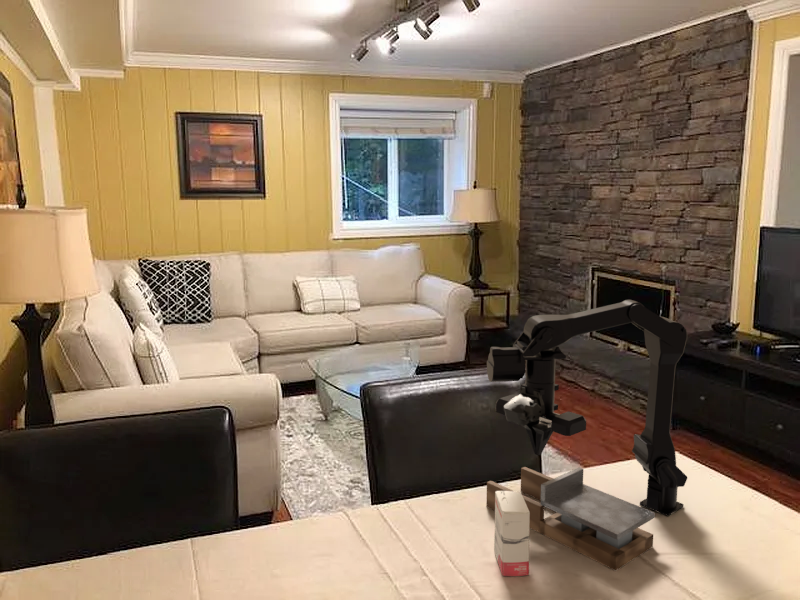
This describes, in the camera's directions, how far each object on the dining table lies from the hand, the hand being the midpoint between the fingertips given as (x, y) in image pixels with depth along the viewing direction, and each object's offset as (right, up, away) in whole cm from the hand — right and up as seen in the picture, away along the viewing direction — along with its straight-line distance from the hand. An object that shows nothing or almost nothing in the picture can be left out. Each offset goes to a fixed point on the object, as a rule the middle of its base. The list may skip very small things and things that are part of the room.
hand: (537, 454), depth 132 cm
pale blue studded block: (+6, -14, -6) cm, 16 cm away
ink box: (-8, -16, -16) cm, 24 cm away
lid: (+9, -8, -10) cm, 16 cm away
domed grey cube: (+11, -15, -12) cm, 22 cm away
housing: (+5, -13, -3) cm, 14 cm away
